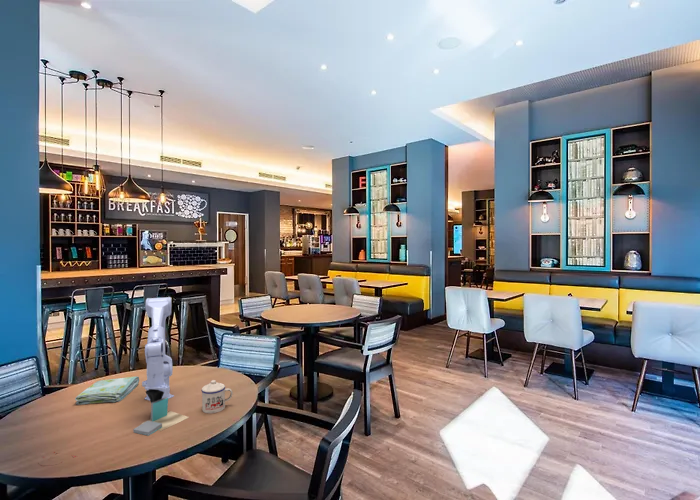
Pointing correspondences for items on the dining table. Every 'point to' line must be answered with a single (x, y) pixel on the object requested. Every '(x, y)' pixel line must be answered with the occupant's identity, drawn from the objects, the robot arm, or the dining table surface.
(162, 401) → the tile
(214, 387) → the teacup with lid
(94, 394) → the towel
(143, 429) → the tile
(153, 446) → the dining table surface
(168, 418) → the beige square board
